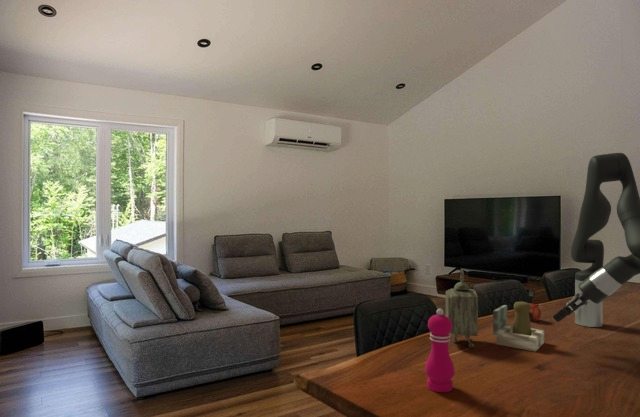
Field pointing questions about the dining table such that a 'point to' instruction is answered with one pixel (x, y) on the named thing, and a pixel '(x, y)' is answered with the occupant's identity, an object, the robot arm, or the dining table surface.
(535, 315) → the pomegranate
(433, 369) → the pepper mill
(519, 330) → the cork
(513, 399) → the dining table surface
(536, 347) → the stand
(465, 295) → the tabletop clock
